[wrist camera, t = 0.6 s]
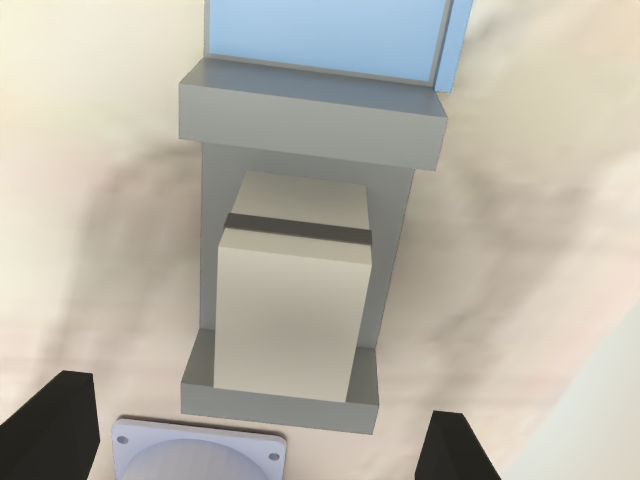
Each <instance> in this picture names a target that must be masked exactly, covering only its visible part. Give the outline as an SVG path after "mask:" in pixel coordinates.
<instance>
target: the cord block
mask: <svg viewBox="0 0 640 480" xmlns="http://www.w3.org/2000/svg"><path fill="white" fill-rule="evenodd" d="M372 245H373V243H372V231H371V230H369V220H368V207H367V194H366V185H363V184H355V183H347V182H339V181H331V180H323V179H314V178H306V177H298V176H290V175H282V174H274V173H266V172H258V171H250V170H247V171H246V174H245V177H244V179H243V182H242V185H241V187H240V190H239V193H238V195H237V198H236V201H235V203H234V206H233V209H232V211H231V213H228V216H227V218H226V221H225V223H224V226H223V235H222V238H221V241H220V243H219V246H218V269H217V299H216V329H215V360H214V388H219V389H227V390H236V391H245V392H254V393H263V394H271V395H280V396H289V397H298V398H307V399H315V400H324V401H333V402H342V403H345V401H346V396H347V391H348V385H349V380H350V375H351V370H352V365H353V360H354V355H355V350H356V345H357V339H358V334H359V329H360V324H361V319H362V314H363V309H364V304H365V299H366V293H367V288H368V283H369V278H370V273H371V268H372V258H371V250H372Z"/></svg>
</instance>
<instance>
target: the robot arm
mask: <svg viewBox="0 0 640 480" xmlns="http://www.w3.org/2000/svg"><path fill="white" fill-rule="evenodd" d="M111 432H112V442H113V453H114V463H115V474H116V480H282V476H283V469H284V461H285V453H286V445H287V444H286V441H285V440H284V439H283V438H282V437H279V436H274V435H265V434H256V433H247V432H238V431H229V430H220V429H211V428H202V427H193V426H184V425H175V424H166V423H157V422H149V421H140V420H131V419H118V420H116V421H115V422H114V424H113V426H112V430H111ZM99 443H100V435H99V426H98V417H97V409H96V400H95V391H94V383H93V374H92V373H83V372H74V371H65V370H63V371H62V372H60V373H59V374H58V375H57V376H55V377H54V378H53V379H52V380H51V381H50V382H49V383H48V384H46V385H45V386H44V387H43V388H42V389H41V390H40V391H39V392H38V393H36V394H35V395H34V396H33V397H32V398H31V399H30V400H29V401H28V402H26V403H25V404H24V405H23V406H22V407H21V408H20V409H19V410H17V411H16V412H15V413H14V414H13V415H12V416H11V417H9V418H8V419H7V420H6V421H5V422H4V423H3V424H1V425H0V480H87V478H88V475H89V472H90V470H91V467H92V464H93V461H94V458H95V455H96V452H97V449H98V446H99ZM274 453H275V454H274ZM415 480H501V478H500V476H499V475H498V473H497V472H496V470H495V468H494V467H493V465H492V463H491V462H490V460H489V458H488V457H487V455H486V453H485V451H484V450H483V448H482V446H481V445H480V443H479V441H478V439H477V438H476V436H475V434H474V432H473V430H472V429H471V427H470V425H469V423H468V421H467V420H466V418H465V417H464V415H463V414H462V413H453V412H443V411H434V410H433V414H432V417H431V420H430V424H429V427H428V431H427V434H426V437H425V441H424V444H423V448H422V451H421V454H420V458H419V461H418V464H417V468H416V471H415Z"/></svg>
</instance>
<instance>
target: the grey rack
mask: <svg viewBox="0 0 640 480" xmlns="http://www.w3.org/2000/svg"><path fill="white" fill-rule="evenodd" d="M472 1H473V0H205V4H204V58H203V59H202V60H201V61H200V62H199V63H198V64H197V65H196V66H195V67H194V68H193V69H192V70H191V71H190V72H189V73H188V74H187V75H186V76H185V77H184V78H183V80H182V81H181V82H180V83H179V139H184V140H192V141H200V142H202V202H201V268H200V329H199V332H198V335H197V337H196V340H195V343H194V346H193V349H192V352H191V355H190V358H189V361H188V363H187V366H186V369H185V372H184V375H183V378H182V381H181V414H190V415H198V416H207V417H216V418H225V419H234V420H243V421H252V422H261V423H270V424H279V425H288V426H297V427H305V428H314V429H323V430H332V431H341V432H350V433H359V434H368V435H372V434H373V430H374V426H375V422H376V418H377V413H378V409H379V394H378V380H377V366H376V352H375V348H376V344H377V339H378V334H379V330H380V325H381V321H382V316H383V312H384V307H385V302H386V298H387V293H388V289H389V284H390V280H391V275H392V270H393V266H394V261H395V257H396V252H397V247H398V243H399V238H400V234H401V229H402V225H403V220H404V215H405V211H406V206H407V202H408V197H409V193H410V188H411V183H412V179H413V174H414V170H415V169H423V170H431V171H435V170H436V166H437V162H438V158H439V154H440V149H441V145H442V141H443V137H444V133H445V129H446V124H447V120H448V117H447V115H446V113H445V111H444V109H443V107H442V105H441V103H440V101H439V99H438V97H437V95H436V93H435V91H441V92H449V93H451V90H452V86H453V81H454V77H455V73H456V69H457V64H458V60H459V56H460V52H461V47H462V43H463V39H464V35H465V30H466V26H467V22H468V18H469V13H470V9H471V5H472ZM247 170H250V171H258V172H266V173H274V174H282V175H290V176H298V177H306V178H314V179H323V180H331V181H339V182H347V183H355V184H363V185H366V194H367V207H368V220H369V230H371V231H372V243H373V245H372V250H371V258H372V268H371V273H370V278H369V283H368V288H367V293H366V299H365V304H364V309H363V314H362V319H361V324H360V329H359V334H358V339H357V345H356V350H355V355H354V360H353V365H352V370H351V375H350V380H349V385H348V391H347V396H346V401H345V403H342V402H333V401H324V400H315V399H307V398H298V397H289V396H280V395H271V394H263V393H254V392H245V391H236V390H227V389H219V388H214V360H215V329H216V299H217V269H218V246H219V243H220V241H221V238H222V235H223V226H224V223H225V221H226V218H227V216H228V213H231V211H232V209H233V206H234V203H235V201H236V198H237V195H238V193H239V190H240V187H241V185H242V182H243V179H244V177H245V174H246V171H247Z"/></svg>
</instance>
